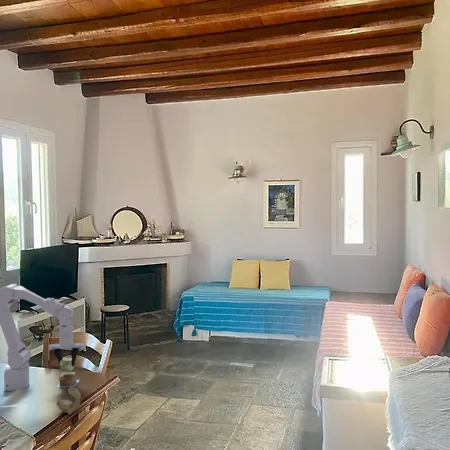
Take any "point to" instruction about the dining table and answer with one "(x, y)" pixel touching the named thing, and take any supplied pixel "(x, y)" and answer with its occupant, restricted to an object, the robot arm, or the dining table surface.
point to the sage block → (66, 365)
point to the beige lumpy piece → (67, 404)
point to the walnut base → (67, 378)
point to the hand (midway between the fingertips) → (67, 365)
